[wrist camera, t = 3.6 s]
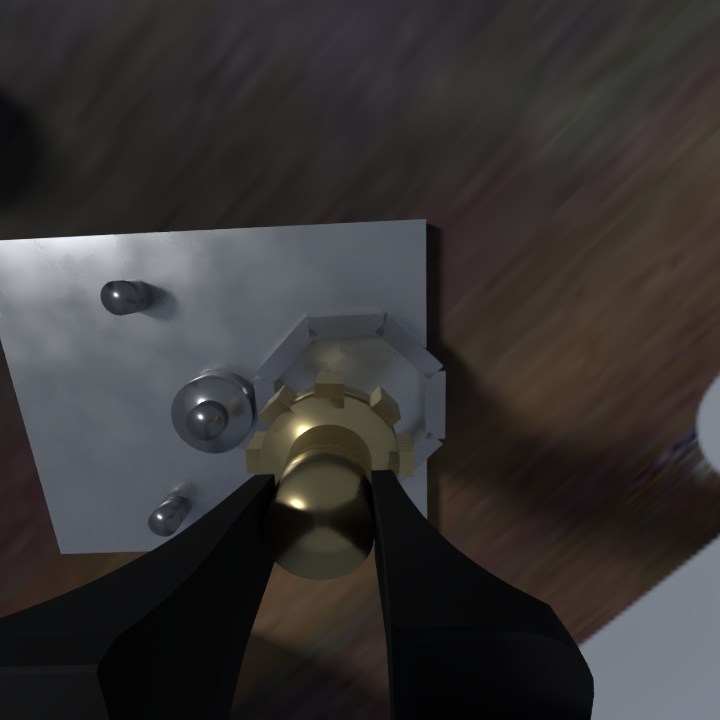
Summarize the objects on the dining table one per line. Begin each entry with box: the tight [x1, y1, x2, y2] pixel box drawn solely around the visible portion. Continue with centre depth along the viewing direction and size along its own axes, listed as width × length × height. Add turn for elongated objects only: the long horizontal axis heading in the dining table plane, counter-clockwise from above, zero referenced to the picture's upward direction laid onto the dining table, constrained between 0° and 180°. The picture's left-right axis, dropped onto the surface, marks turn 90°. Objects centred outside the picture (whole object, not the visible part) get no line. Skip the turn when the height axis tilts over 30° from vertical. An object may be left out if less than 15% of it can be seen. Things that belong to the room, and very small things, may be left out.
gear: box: [245, 371, 415, 580], centre depth 13 cm, size 6×6×5 cm
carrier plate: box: [0, 219, 446, 554], centre depth 20 cm, size 18×23×3 cm
